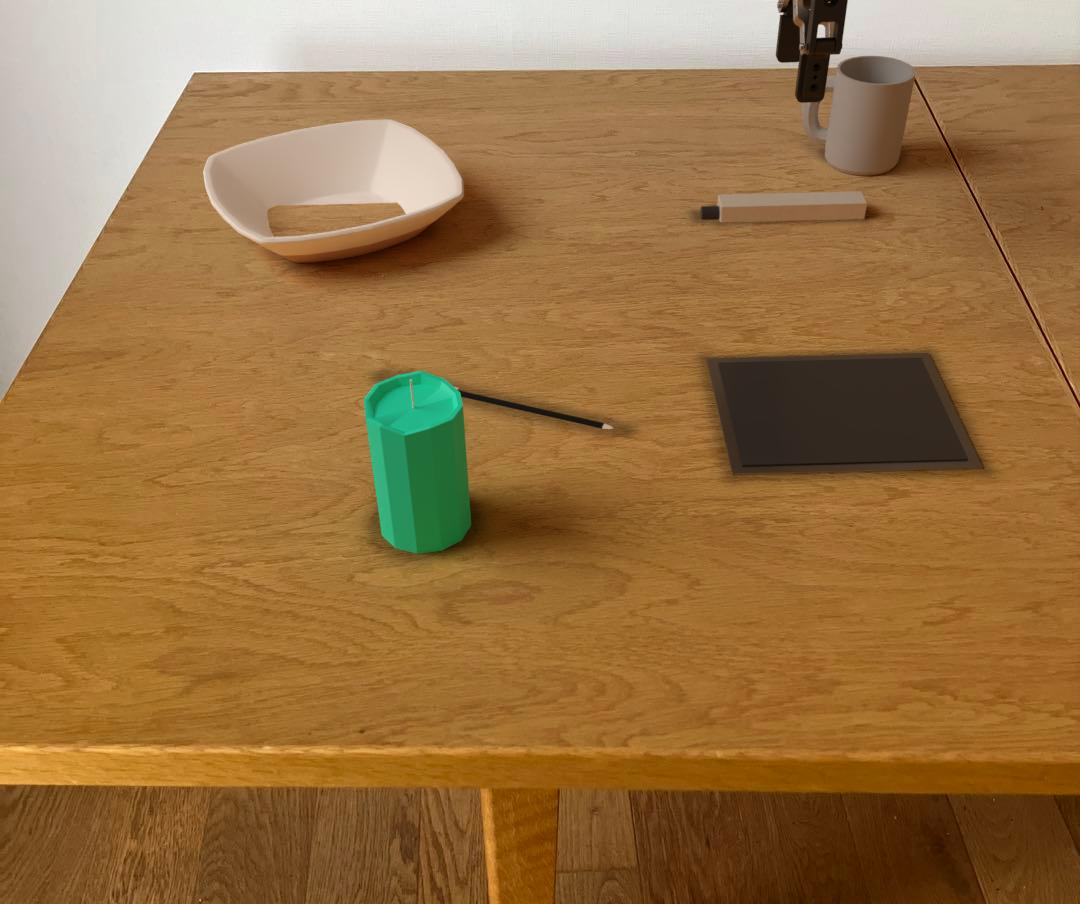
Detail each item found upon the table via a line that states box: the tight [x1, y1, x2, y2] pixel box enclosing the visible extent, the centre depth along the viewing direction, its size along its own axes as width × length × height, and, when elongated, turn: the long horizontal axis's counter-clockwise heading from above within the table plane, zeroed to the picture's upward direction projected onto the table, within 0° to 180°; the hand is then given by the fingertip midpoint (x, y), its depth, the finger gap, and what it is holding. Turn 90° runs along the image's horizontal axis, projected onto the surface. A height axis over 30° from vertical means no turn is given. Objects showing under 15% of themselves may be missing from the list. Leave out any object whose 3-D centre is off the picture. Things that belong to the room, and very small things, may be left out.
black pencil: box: [454, 386, 614, 430], centre depth 88 cm, size 1×19×1 cm, turn 68°
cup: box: [800, 55, 916, 177], centre depth 116 cm, size 7×10×9 cm
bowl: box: [202, 118, 465, 264], centre depth 108 cm, size 22×22×5 cm
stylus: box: [699, 190, 868, 223], centre depth 108 cm, size 15×2×2 cm, turn 91°
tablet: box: [705, 352, 984, 476], centre depth 86 cm, size 17×14×1 cm
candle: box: [363, 370, 472, 555], centre depth 74 cm, size 6×6×12 cm
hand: (798, 80), depth 98 cm, fingers open, 8 cm apart
